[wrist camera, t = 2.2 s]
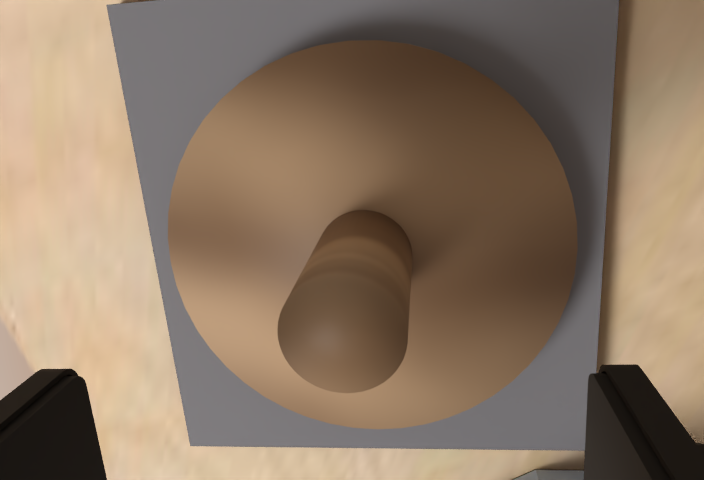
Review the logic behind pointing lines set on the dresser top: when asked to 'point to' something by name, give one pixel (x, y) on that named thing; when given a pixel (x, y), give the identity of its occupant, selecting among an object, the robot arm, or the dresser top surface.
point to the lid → (372, 234)
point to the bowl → (553, 475)
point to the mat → (403, 27)
